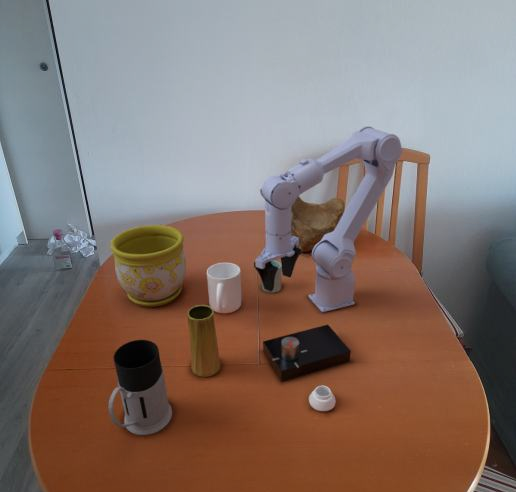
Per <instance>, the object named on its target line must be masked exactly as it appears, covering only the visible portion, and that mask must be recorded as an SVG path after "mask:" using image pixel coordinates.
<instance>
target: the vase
mask: <svg viewBox="0 0 516 492" xmlns="http://www.w3.org/2000/svg"><path fill="white" fill-rule="evenodd" d="M187 323H188V334H189V345H190V359H191V366H190V367H191V371H192V373H193V374H194V375H195V376H198V377H202V378H207V377H212V376H214V375H215V374H217V373H218V372H219V371H220V369H221V362H220V352H219V346H218V337H217V331H216V324H215V323H216V322H215V311H214V310H213V308H212V307H210V305H207V304H197V305H193V306H192V307H190V308H189V309H188V310H187Z"/></svg>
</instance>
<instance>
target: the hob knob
mask: <svg viewBox="0 0 516 492" xmlns="http://www.w3.org/2000/svg"><path fill="white" fill-rule="evenodd" d="M281 356H282V358H283V359H284V360H287V361H294V360H296V359H297V358H298V357H299V341H298V339H296V338H294V337H286V338H284V339H283V340H282V342H281Z"/></svg>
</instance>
